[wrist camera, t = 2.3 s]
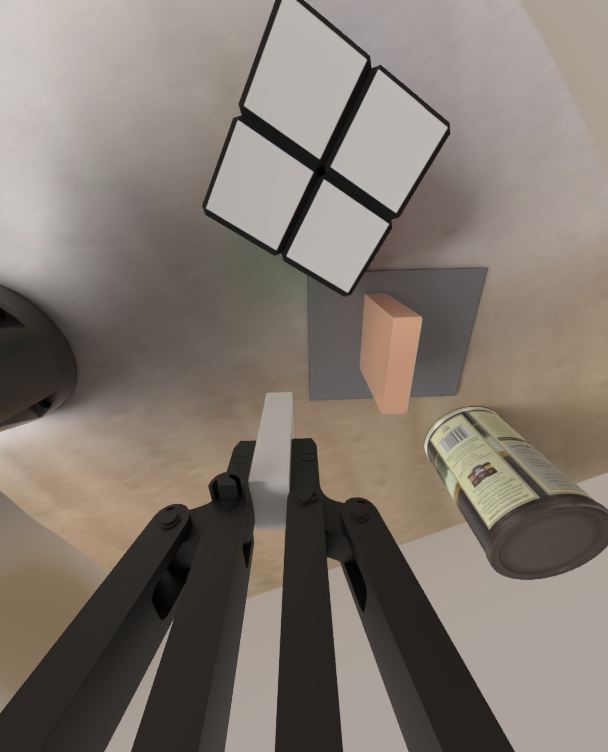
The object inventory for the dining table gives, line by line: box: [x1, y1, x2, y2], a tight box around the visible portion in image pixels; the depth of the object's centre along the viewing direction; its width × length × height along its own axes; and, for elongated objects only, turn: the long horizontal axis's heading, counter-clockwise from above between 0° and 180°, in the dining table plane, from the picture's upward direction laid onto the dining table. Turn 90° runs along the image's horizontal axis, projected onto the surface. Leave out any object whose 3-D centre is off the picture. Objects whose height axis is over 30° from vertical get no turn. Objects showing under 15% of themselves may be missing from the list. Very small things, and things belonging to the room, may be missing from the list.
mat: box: [308, 268, 487, 401], centre depth 30 cm, size 17×14×1 cm
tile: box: [360, 293, 422, 414], centre depth 25 cm, size 2×8×9 cm, turn 2°
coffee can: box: [424, 407, 608, 580], centre depth 30 cm, size 10×10×14 cm
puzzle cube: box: [202, 0, 450, 297], centre depth 19 cm, size 10×10×10 cm
